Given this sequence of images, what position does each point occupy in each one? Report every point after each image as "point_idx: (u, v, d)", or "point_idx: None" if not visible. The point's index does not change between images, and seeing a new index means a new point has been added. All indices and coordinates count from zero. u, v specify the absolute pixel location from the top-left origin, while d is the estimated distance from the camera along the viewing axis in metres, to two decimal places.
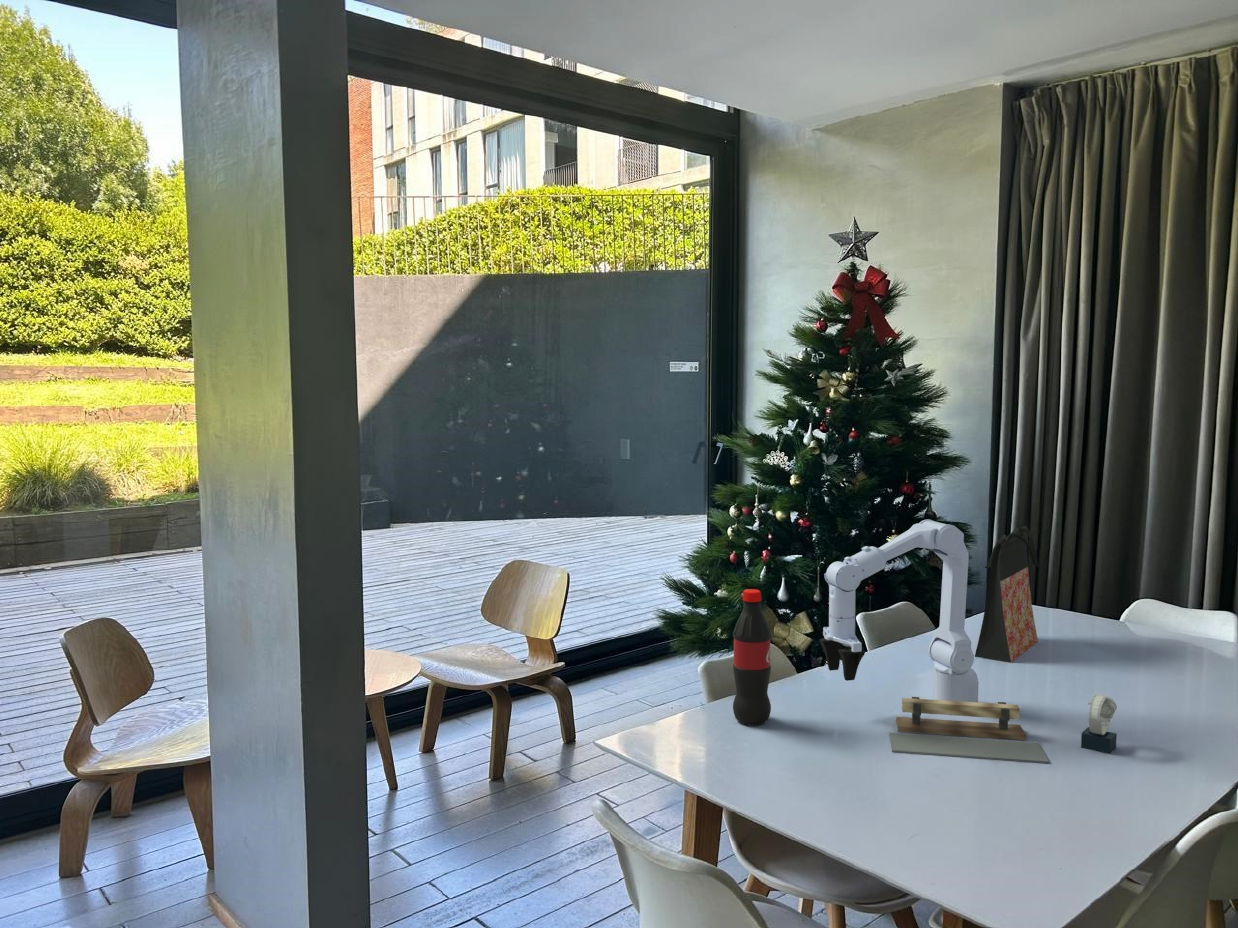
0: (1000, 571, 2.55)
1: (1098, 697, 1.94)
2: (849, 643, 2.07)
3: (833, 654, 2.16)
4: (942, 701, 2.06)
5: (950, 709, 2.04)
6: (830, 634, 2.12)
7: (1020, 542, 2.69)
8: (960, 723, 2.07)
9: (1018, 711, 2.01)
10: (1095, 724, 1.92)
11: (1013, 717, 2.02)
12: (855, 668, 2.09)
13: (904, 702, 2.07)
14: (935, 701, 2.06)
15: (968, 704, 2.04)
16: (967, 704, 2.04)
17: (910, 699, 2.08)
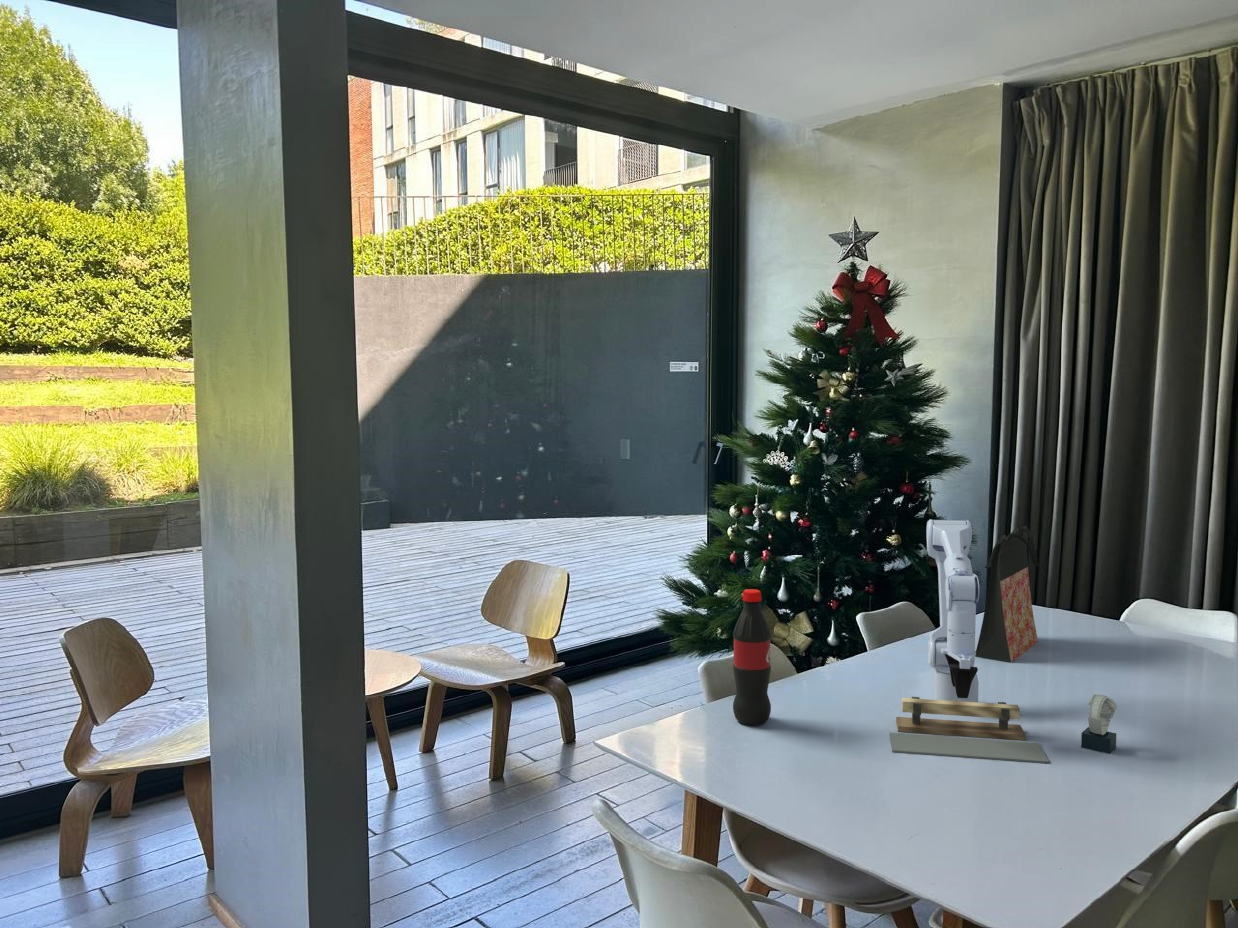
0: (1000, 571, 2.55)
1: (1098, 697, 1.94)
2: (958, 659, 1.99)
3: None
4: (942, 701, 2.06)
5: (950, 709, 2.04)
6: (947, 648, 2.05)
7: (1020, 542, 2.69)
8: (960, 723, 2.07)
9: (1018, 711, 2.01)
10: (1095, 724, 1.92)
11: (1013, 717, 2.02)
12: (968, 686, 2.00)
13: (904, 702, 2.07)
14: (935, 701, 2.06)
15: (968, 704, 2.04)
16: (967, 704, 2.04)
17: (910, 699, 2.08)
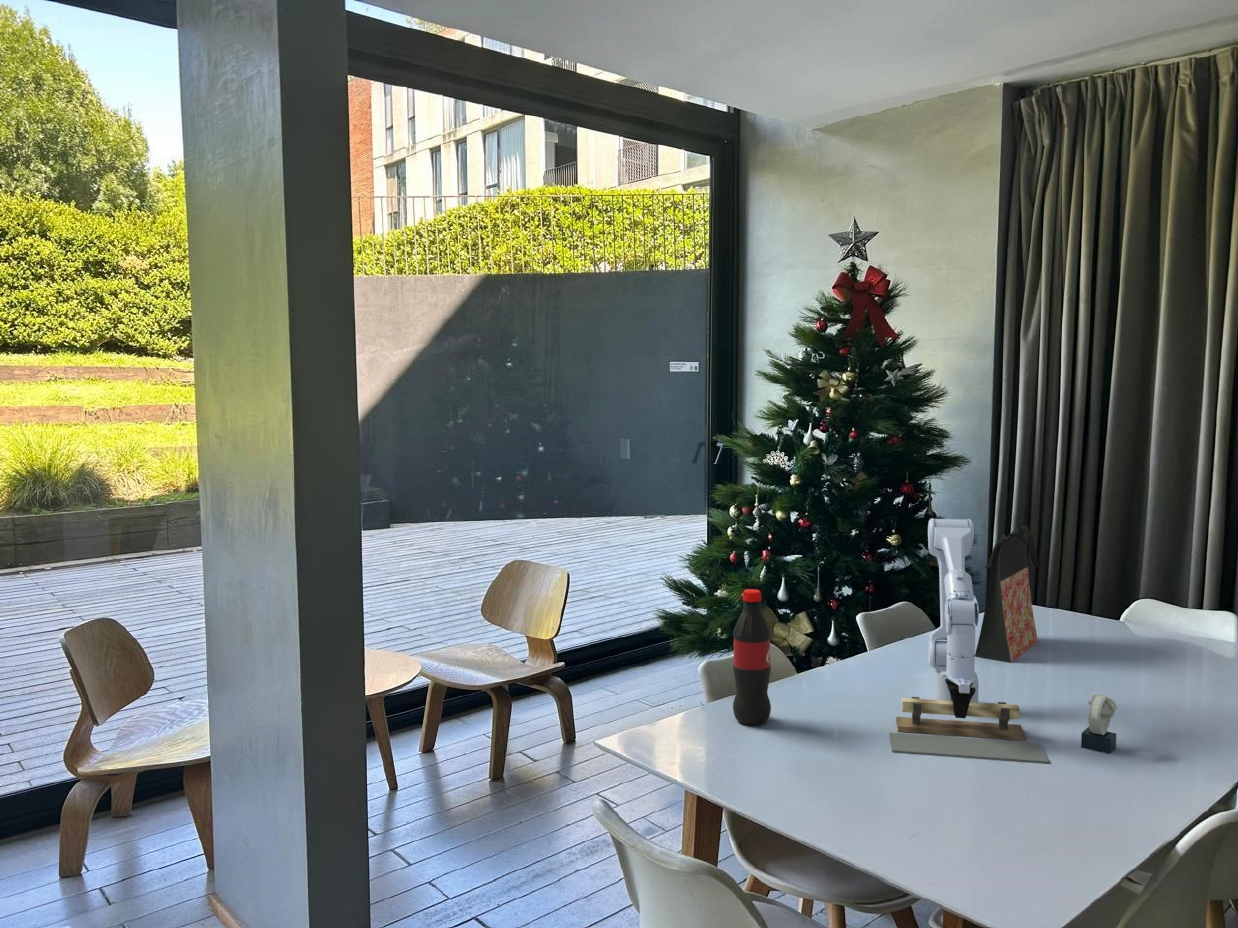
0: (1000, 571, 2.55)
1: (1098, 697, 1.94)
2: (958, 683, 1.99)
3: None
4: (942, 701, 2.06)
5: (950, 709, 2.04)
6: (946, 671, 2.05)
7: (1020, 542, 2.69)
8: (960, 723, 2.07)
9: (1018, 711, 2.01)
10: (1095, 724, 1.92)
11: (1013, 717, 2.02)
12: (966, 706, 2.03)
13: (904, 702, 2.07)
14: (935, 701, 2.06)
15: None
16: None
17: (910, 699, 2.08)
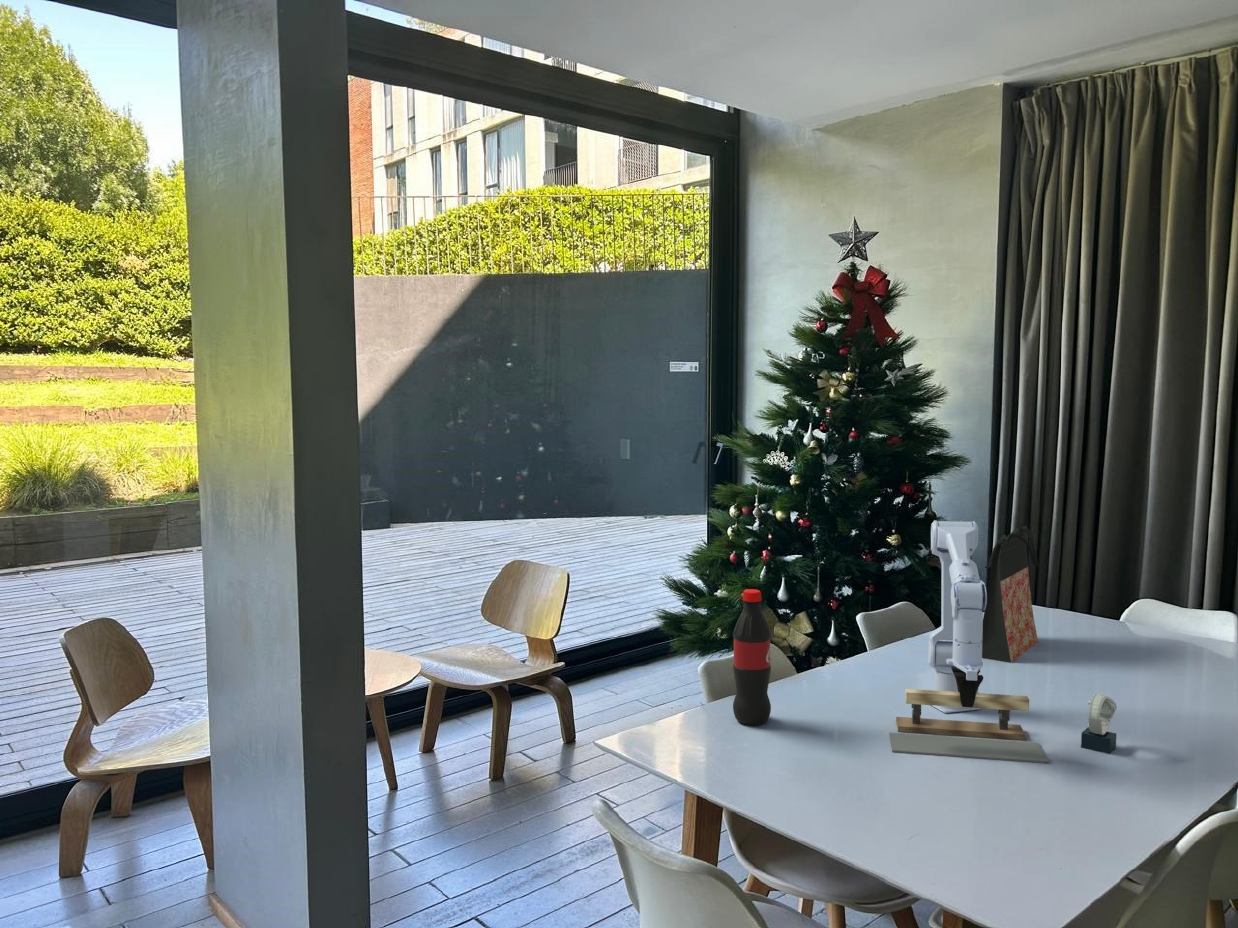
0: (1000, 571, 2.55)
1: (1098, 697, 1.94)
2: (964, 670, 1.90)
3: None
4: (948, 692, 1.97)
5: (957, 700, 1.95)
6: (952, 658, 1.96)
7: (1020, 542, 2.69)
8: (960, 723, 2.07)
9: (1028, 702, 1.92)
10: (1095, 724, 1.92)
11: (1023, 709, 1.92)
12: (973, 695, 1.93)
13: (908, 693, 1.97)
14: (941, 693, 1.96)
15: None
16: None
17: (914, 690, 1.98)
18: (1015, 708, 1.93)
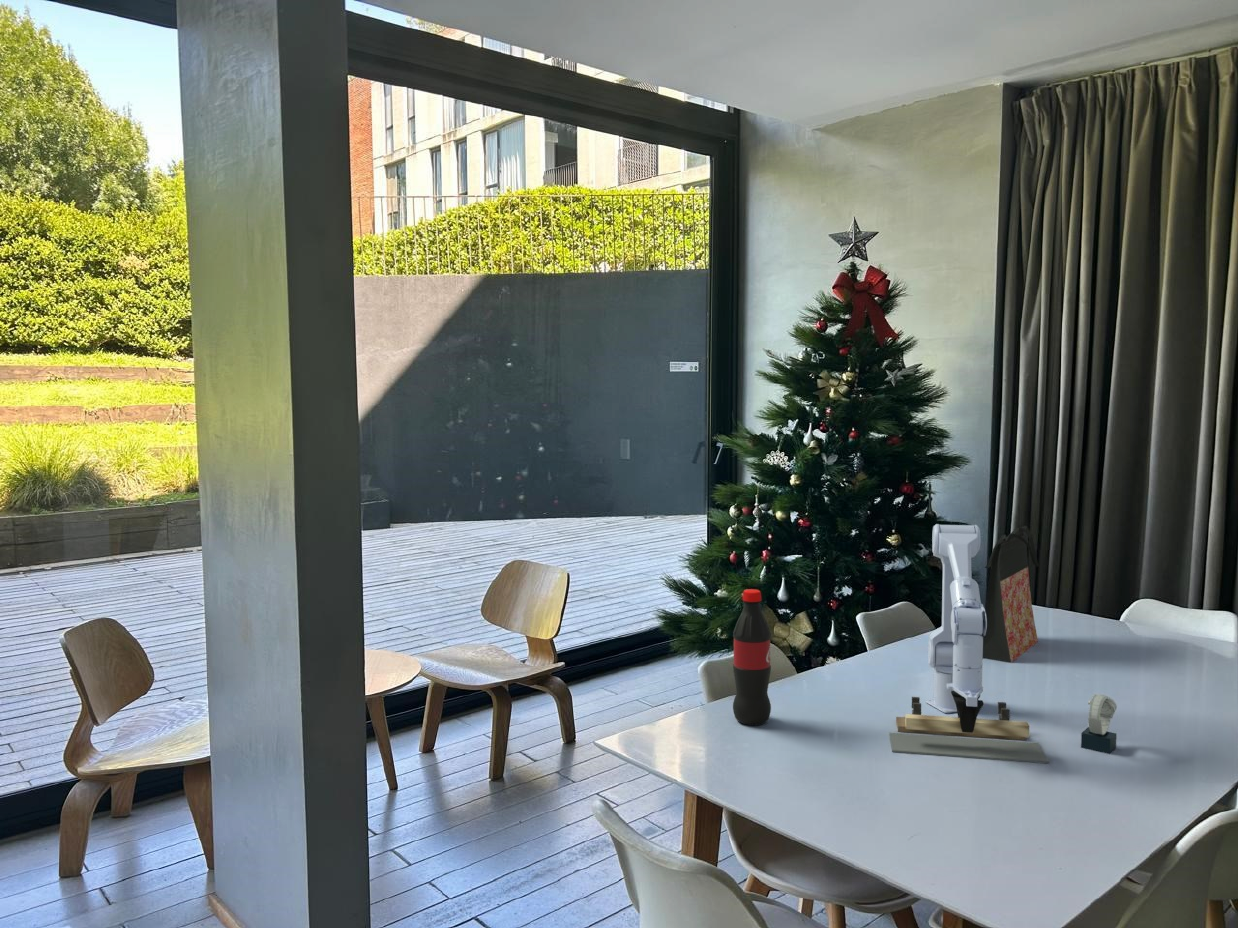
0: (1000, 571, 2.55)
1: (1098, 697, 1.94)
2: (964, 696, 1.89)
3: None
4: (948, 718, 1.96)
5: (957, 726, 1.95)
6: (952, 683, 1.95)
7: (1020, 542, 2.69)
8: None
9: (1028, 728, 1.92)
10: (1095, 724, 1.92)
11: (1023, 735, 1.92)
12: (973, 720, 1.93)
13: (908, 719, 1.97)
14: (940, 718, 1.96)
15: None
16: None
17: (914, 715, 1.98)
18: (1015, 734, 1.92)
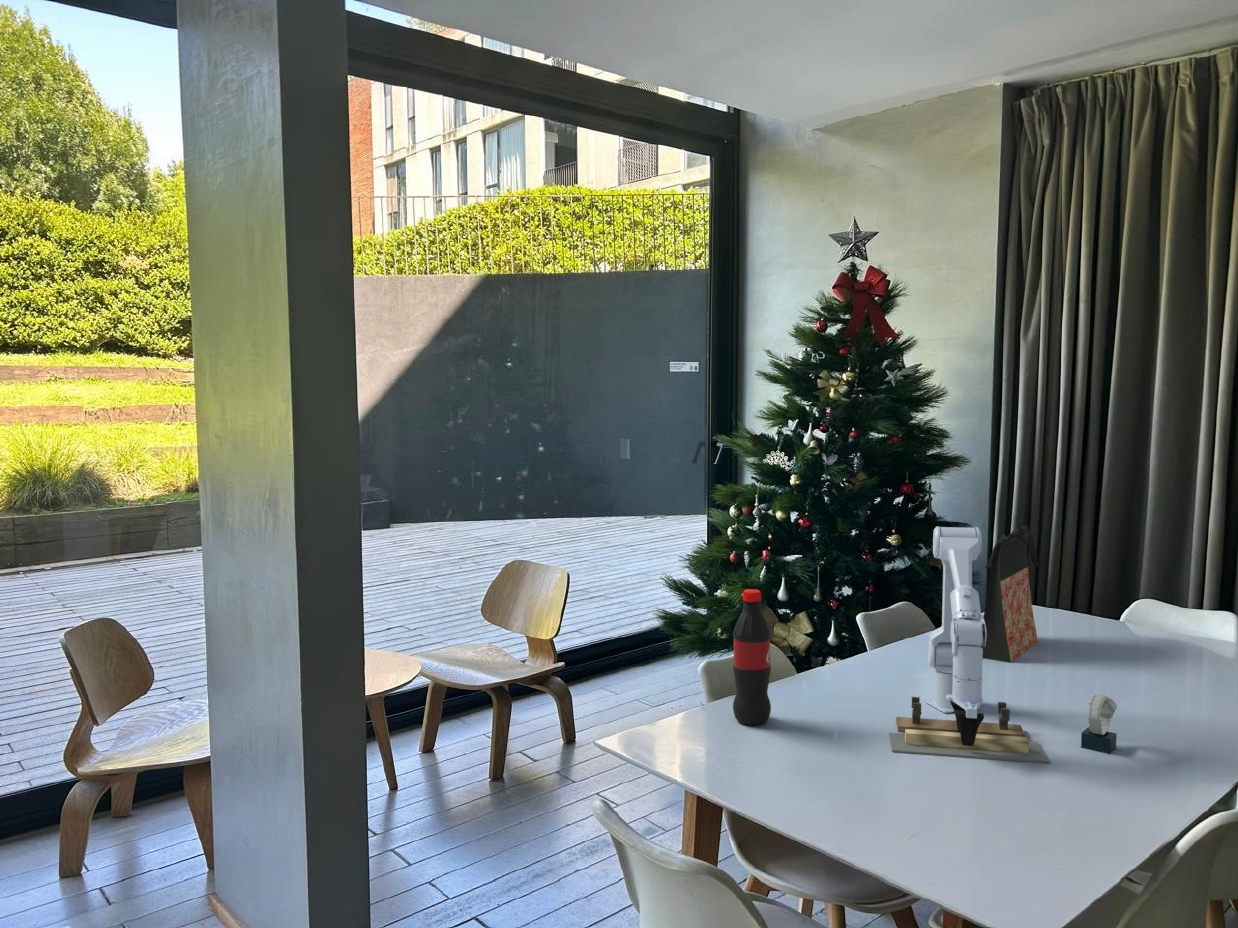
0: (1000, 571, 2.55)
1: (1098, 697, 1.94)
2: (964, 707, 1.90)
3: None
4: (947, 733, 1.97)
5: (956, 741, 1.95)
6: (952, 694, 1.96)
7: (1020, 542, 2.69)
8: None
9: (1027, 744, 1.92)
10: (1095, 724, 1.92)
11: (1022, 750, 1.92)
12: (973, 733, 1.92)
13: (907, 734, 1.97)
14: (940, 733, 1.97)
15: None
16: None
17: (914, 730, 1.98)
18: (1014, 750, 1.93)
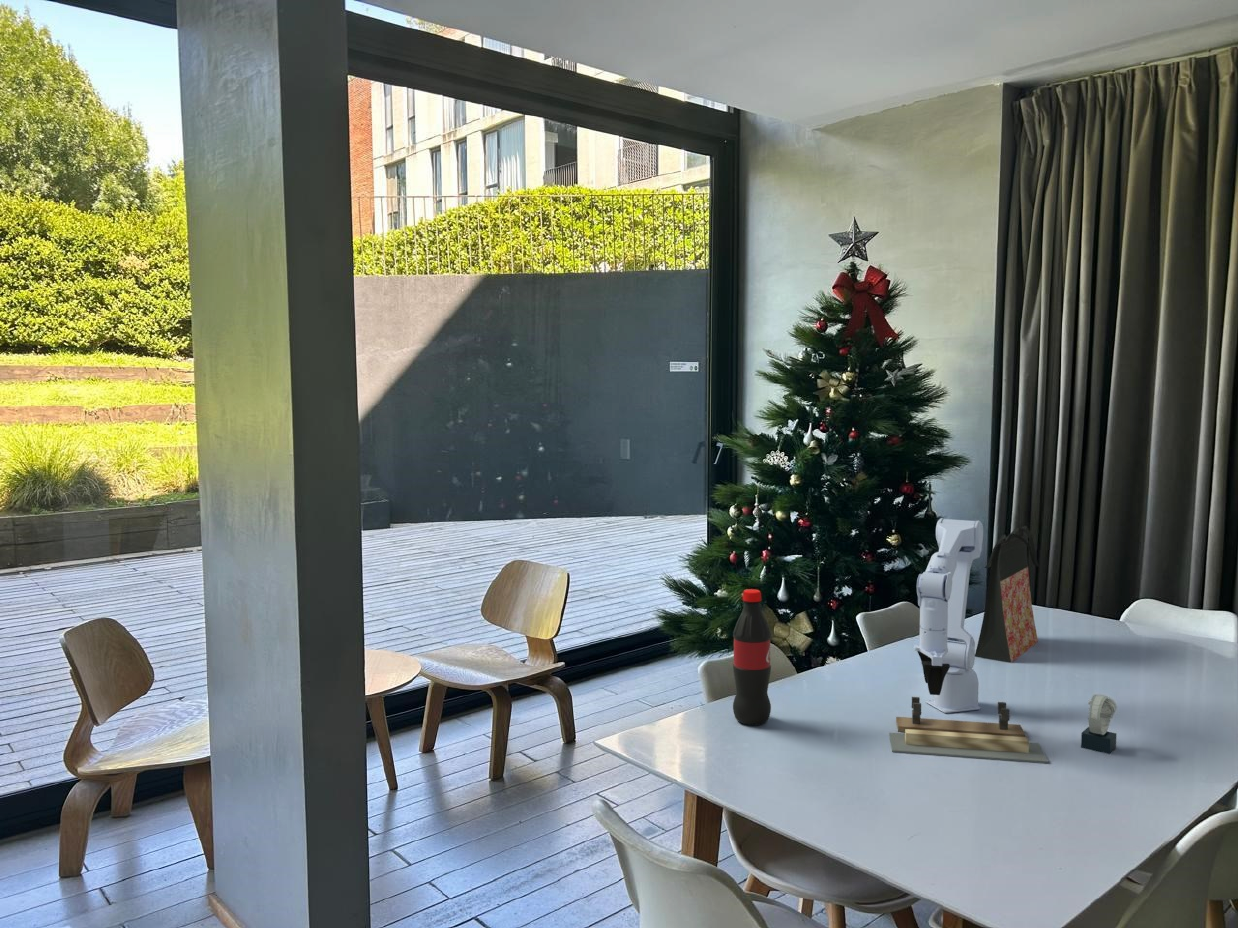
0: (1000, 571, 2.55)
1: (1098, 697, 1.94)
2: (930, 656, 1.99)
3: None
4: (947, 733, 1.97)
5: (956, 741, 1.95)
6: (919, 645, 2.05)
7: (1020, 542, 2.69)
8: (960, 723, 2.07)
9: (1027, 744, 1.92)
10: (1095, 724, 1.92)
11: (1022, 750, 1.92)
12: (940, 683, 2.01)
13: (907, 734, 1.97)
14: (940, 733, 1.97)
15: (974, 736, 1.95)
16: (973, 737, 1.94)
17: (914, 730, 1.98)
18: (1014, 750, 1.93)
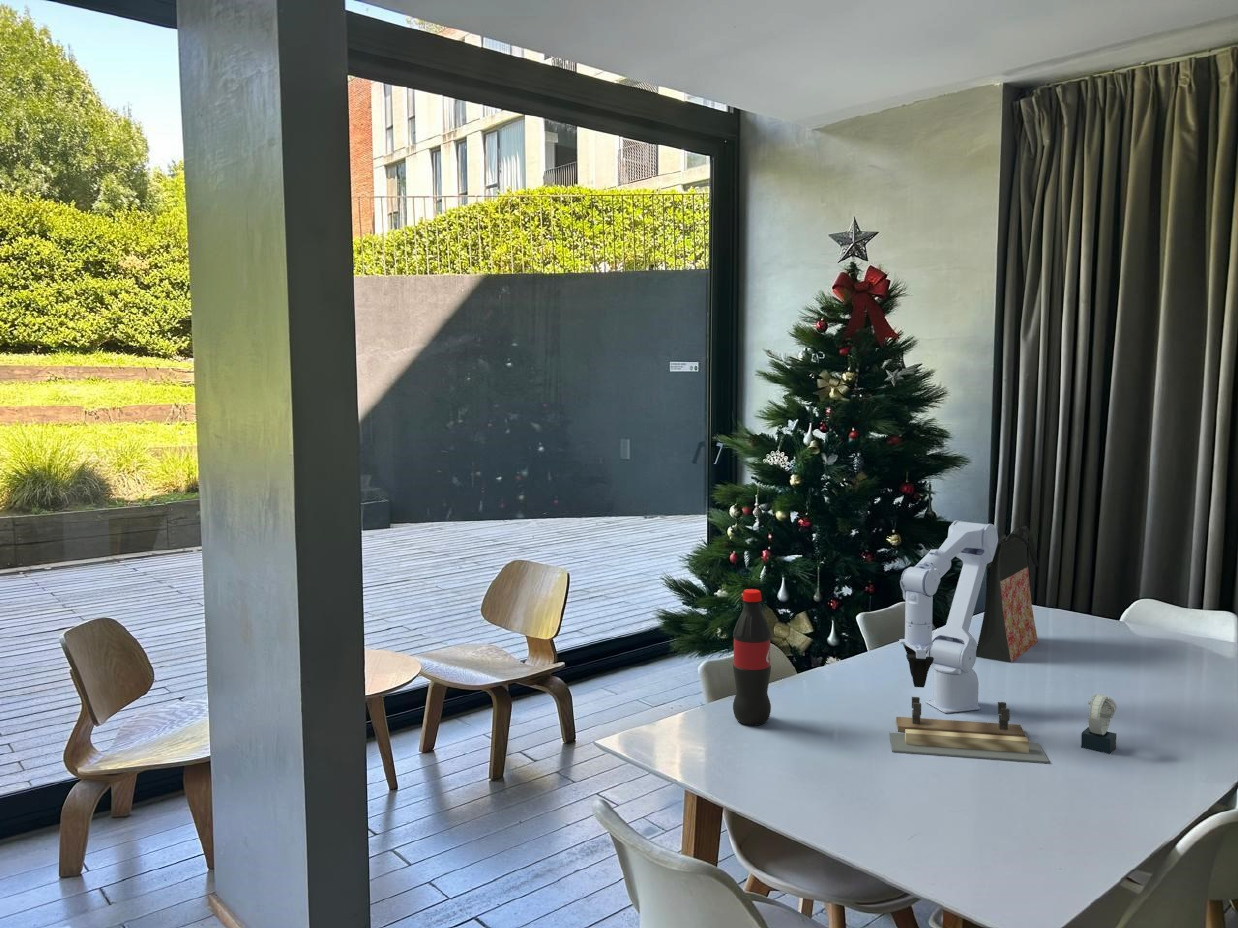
0: (1000, 571, 2.55)
1: (1098, 697, 1.94)
2: (914, 649, 2.04)
3: None
4: (947, 733, 1.97)
5: (956, 741, 1.95)
6: (905, 638, 2.10)
7: (1020, 542, 2.69)
8: (960, 723, 2.07)
9: (1027, 744, 1.92)
10: (1095, 724, 1.92)
11: (1022, 750, 1.92)
12: (924, 675, 2.05)
13: (907, 734, 1.97)
14: (940, 733, 1.97)
15: (974, 736, 1.95)
16: (973, 737, 1.94)
17: (914, 730, 1.98)
18: (1014, 750, 1.93)
